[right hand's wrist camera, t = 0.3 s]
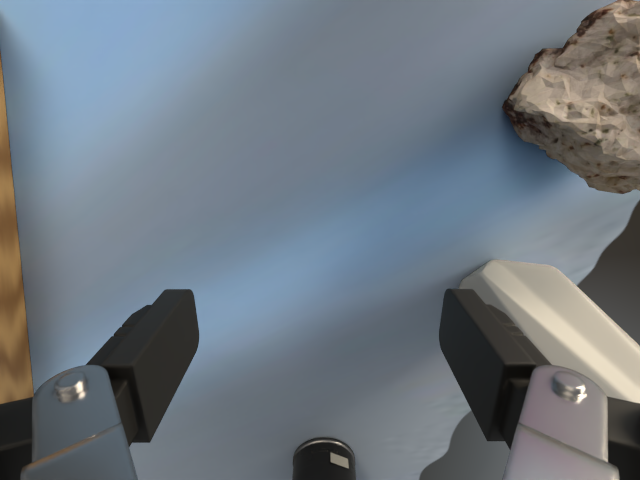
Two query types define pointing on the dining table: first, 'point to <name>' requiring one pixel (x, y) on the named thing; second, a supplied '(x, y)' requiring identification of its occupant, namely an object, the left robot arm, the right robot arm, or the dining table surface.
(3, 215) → the bar
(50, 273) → the dining table surface
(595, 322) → the vase
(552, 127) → the rock
